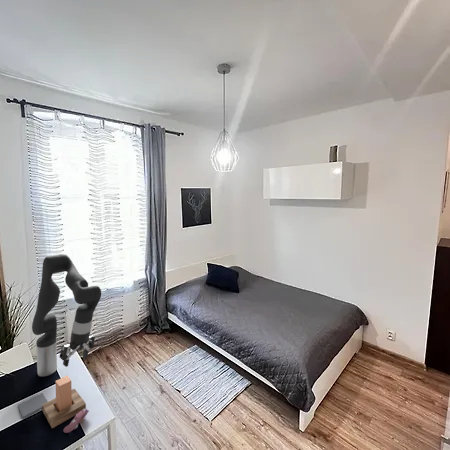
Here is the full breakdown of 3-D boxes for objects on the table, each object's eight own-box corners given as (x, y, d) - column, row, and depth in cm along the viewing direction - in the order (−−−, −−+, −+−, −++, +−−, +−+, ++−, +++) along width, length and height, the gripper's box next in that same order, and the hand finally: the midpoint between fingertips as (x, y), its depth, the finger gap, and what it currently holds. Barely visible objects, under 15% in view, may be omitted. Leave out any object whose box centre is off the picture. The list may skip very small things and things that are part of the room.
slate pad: (17, 406, 121) (17, 404, 121) (42, 394, 129) (42, 392, 129) (23, 418, 115) (23, 416, 115) (48, 405, 123) (48, 403, 122)
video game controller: (69, 438, 108) (75, 426, 107) (61, 432, 109) (67, 420, 108) (86, 419, 118) (92, 408, 117) (79, 413, 118) (84, 402, 117)
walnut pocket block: (42, 410, 120) (41, 404, 119) (74, 393, 130) (74, 388, 130) (52, 428, 111) (51, 422, 110) (85, 409, 121) (85, 403, 121)
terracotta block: (56, 410, 120) (55, 380, 119) (68, 403, 124) (67, 375, 122) (60, 416, 117) (59, 386, 115) (72, 409, 121) (71, 380, 119)
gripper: (91, 320, 122) (85, 350, 124) (60, 330, 109) (54, 364, 111) (101, 327, 118) (94, 358, 120) (70, 338, 106) (63, 373, 108)
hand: (75, 361), depth 116 cm, fingers open, 8 cm apart
